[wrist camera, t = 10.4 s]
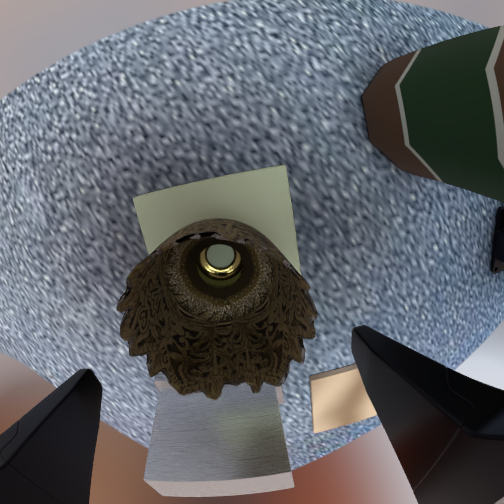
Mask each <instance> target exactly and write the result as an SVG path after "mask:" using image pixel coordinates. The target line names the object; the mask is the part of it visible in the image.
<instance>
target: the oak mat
mask: <svg viewBox="0 0 504 504" xmlns="http://www.w3.org/2000/svg"><path fill="white" fill-rule="evenodd" d="M309 377H310V390H311V404H312V420H313V431H314V433H318V432H322V431H326V430H329V429H333V428H337V427H340V426H344V425H347V424H350V423H354V422H357V421H360V420H363V419H366V418H369V417H372V416H375V415H377V413H376V411H375V409H374V407H373V405H372V403H371V401H370V399H369V397H368V394H367V392H366V390H365V387H364V385H363V382H362V379H361V376H360V373H359V370H358V368H357V365H356V364H353V365H350V366H346V367H343V368H339V369H335V370H332V371H328V372H324V373H320V374H316V375H312V376H309Z"/></svg>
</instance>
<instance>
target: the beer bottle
mask: <svg viewBox="0 0 504 504" xmlns="http://www.w3.org/2000/svg"><path fill="white" fill-rule="evenodd" d="M362 100H363V105H364V110H365V115H366V121H367V127H368V132H369V139H370V142H372V143H373V144H374V145H375V146H376V147H377V148H378V149H379V150H381V151H382V152H383V153H384V154H385V155H386V156H387V157H388V158H389V159H390V160H391V161H392V162H393V163H394V164H396V165H397V166H398V167H399V168H400V169H401V170H403V171H406V172H409V173H412V174H414V175H418V176H422V177H425V178H429V179H433V180H436V181H440V182H443V183H447V184H450V185H453V186H456V187H460V188H463V189H466V190H469V191H472V192H475V193H478V194H481V195H484V196H487V197H490V198H492V199H495V200H498V201H501V202H503V203H504V25H503V26H498V27H494V28H489V29H485V30H481V31H477V32H473V33H470V34H466V35H463V36H459V37H456V38H452V39H449V40H446V41H443V42H440V43H437V44H434V45H431V46H428V47H425V48H422V49H419V50H417V51H414V52H411V53H408V54H406V55H403V56H401V57H398V58H396V59H394V60H392V61H390V62H388V63H386V64H384V65H383V66H382V67H381V69H380V70H379V72H378V73H377V75H376V76H375V78H374V79H373V80H372V82H371V83H370V85H369V86H368V88H367V89H366V91H365V92H364V94H363V95H362Z"/></svg>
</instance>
